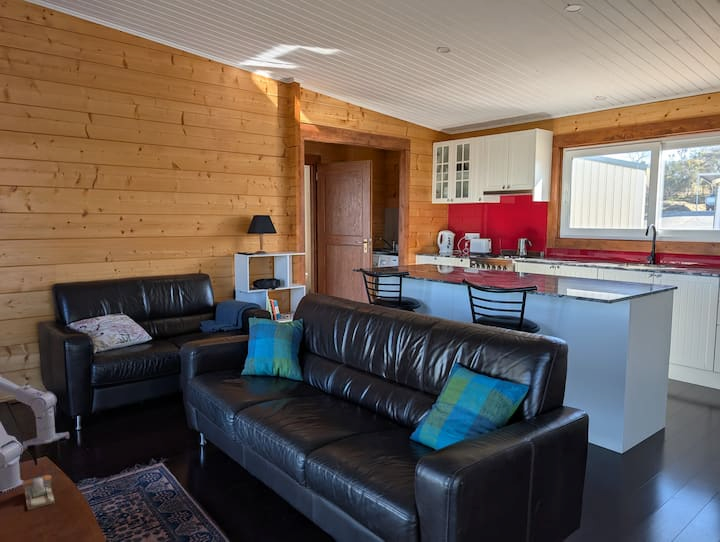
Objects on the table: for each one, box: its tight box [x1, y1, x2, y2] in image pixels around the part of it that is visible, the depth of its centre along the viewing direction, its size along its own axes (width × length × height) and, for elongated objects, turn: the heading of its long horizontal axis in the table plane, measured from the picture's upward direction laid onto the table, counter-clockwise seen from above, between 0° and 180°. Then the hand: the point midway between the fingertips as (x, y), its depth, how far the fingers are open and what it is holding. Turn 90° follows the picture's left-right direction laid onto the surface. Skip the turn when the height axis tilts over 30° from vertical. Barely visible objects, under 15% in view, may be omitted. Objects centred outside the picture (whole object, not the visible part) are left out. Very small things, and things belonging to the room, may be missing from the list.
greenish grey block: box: [32, 477, 46, 497], centre depth 188 cm, size 4×4×5 cm
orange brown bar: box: [21, 474, 53, 490], centre depth 192 cm, size 2×9×2 cm, turn 127°
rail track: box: [23, 474, 56, 511], centre depth 188 cm, size 14×8×4 cm, turn 37°
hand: (48, 461), depth 194 cm, fingers open, 7 cm apart
